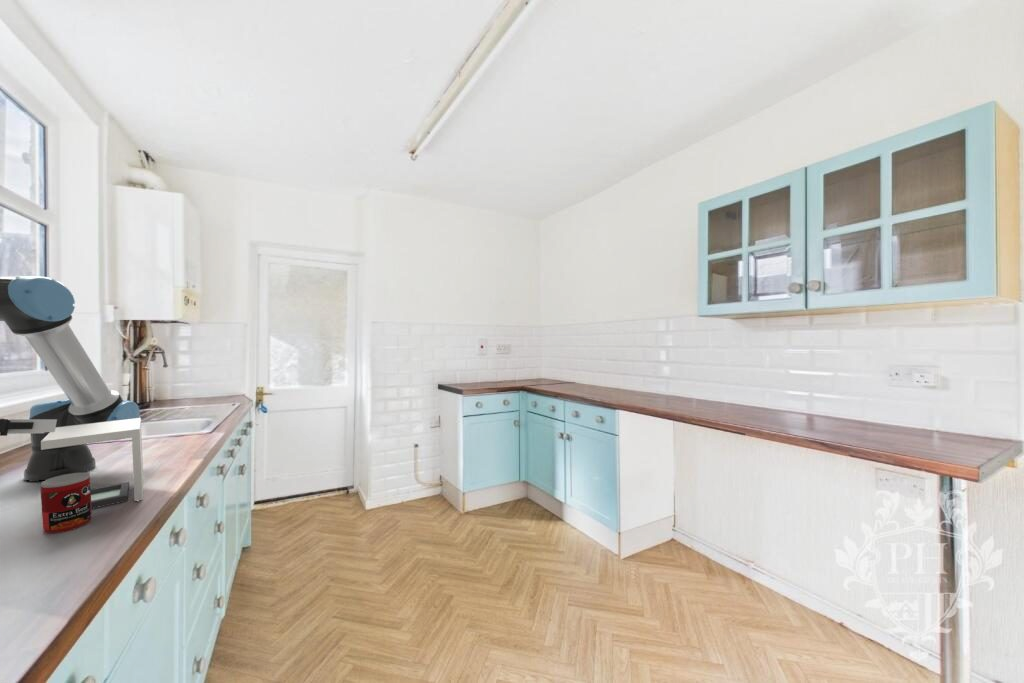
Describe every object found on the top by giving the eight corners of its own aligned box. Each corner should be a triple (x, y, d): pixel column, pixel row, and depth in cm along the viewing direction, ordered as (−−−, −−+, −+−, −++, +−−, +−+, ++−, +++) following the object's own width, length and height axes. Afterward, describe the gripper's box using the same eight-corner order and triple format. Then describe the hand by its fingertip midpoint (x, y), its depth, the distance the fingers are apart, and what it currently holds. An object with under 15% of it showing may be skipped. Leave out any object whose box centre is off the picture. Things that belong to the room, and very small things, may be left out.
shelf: (44, 521, 96) (40, 441, 95) (57, 497, 109) (54, 427, 108) (142, 500, 107) (139, 428, 106) (143, 481, 120) (140, 417, 120)
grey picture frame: (53, 516, 98) (52, 510, 98) (61, 499, 108) (61, 494, 108) (127, 500, 107) (126, 495, 107) (129, 486, 116) (128, 481, 116)
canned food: (47, 537, 88) (44, 487, 88) (39, 528, 93) (36, 480, 92) (96, 522, 95) (94, 476, 94) (86, 514, 99) (84, 470, 99)
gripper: (-120, 448, 83) (38, 443, 100) (-129, 448, 69) (56, 443, 86) (-109, 411, 84) (44, 412, 101) (-116, 403, 70) (63, 407, 87)
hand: (50, 426), depth 94 cm, fingers open, 13 cm apart
